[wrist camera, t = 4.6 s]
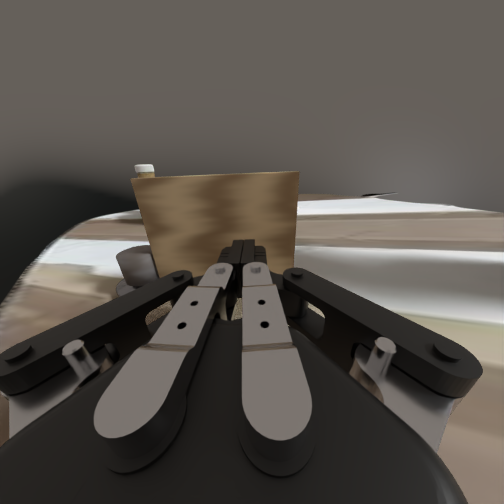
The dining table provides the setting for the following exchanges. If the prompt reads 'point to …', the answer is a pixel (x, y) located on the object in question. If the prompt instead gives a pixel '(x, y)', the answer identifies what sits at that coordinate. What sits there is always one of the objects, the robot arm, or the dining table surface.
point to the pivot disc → (125, 288)
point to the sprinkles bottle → (144, 171)
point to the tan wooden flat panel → (211, 222)
